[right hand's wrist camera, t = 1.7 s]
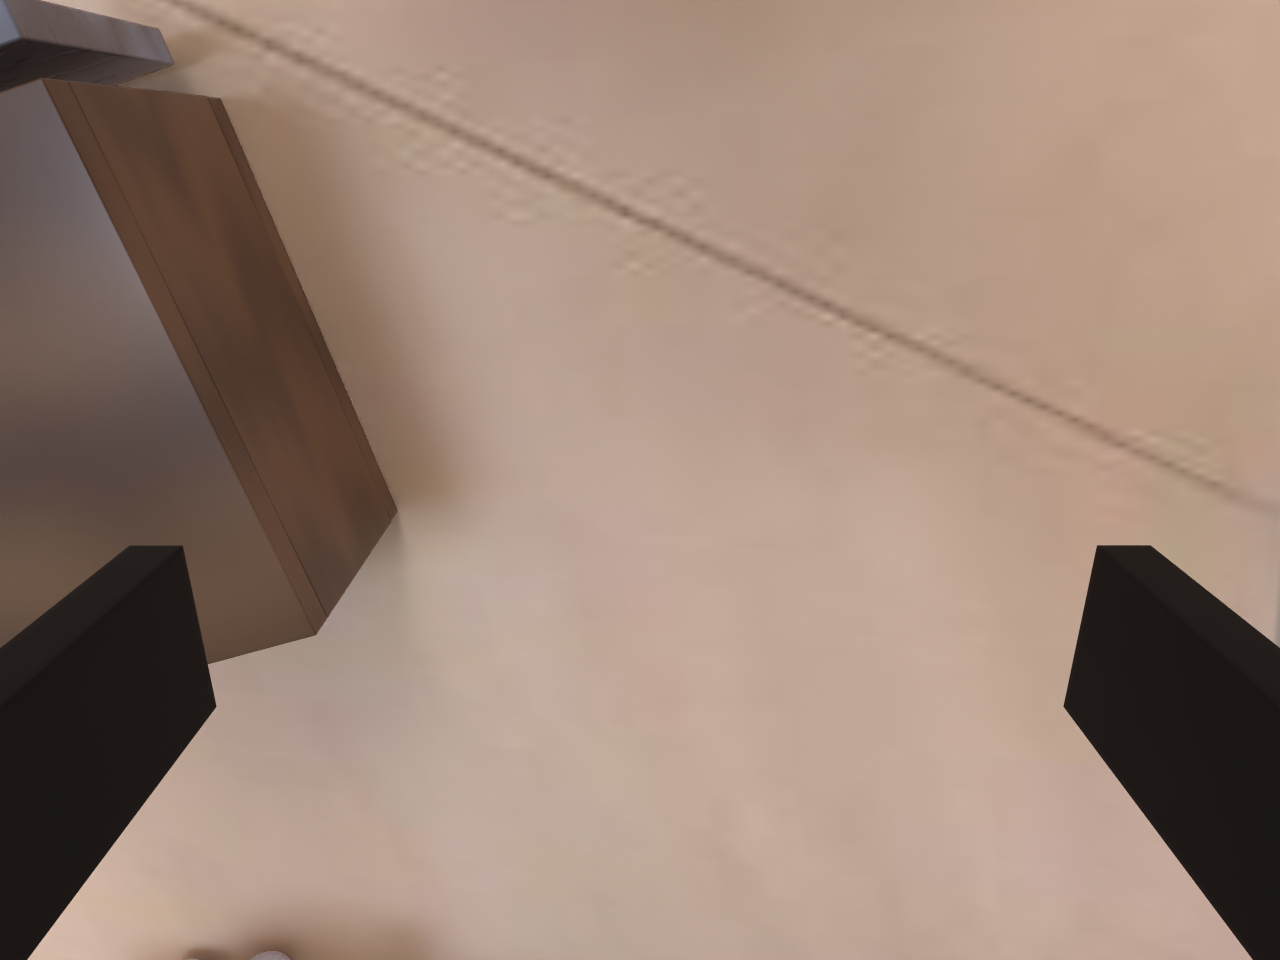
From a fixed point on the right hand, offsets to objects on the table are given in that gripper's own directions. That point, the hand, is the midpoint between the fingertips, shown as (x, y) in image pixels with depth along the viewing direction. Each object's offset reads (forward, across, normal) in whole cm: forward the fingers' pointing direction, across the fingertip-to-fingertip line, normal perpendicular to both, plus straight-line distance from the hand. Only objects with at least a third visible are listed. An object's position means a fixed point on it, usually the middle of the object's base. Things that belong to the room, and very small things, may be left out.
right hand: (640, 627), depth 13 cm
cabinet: (+23, +18, +2) cm, 30 cm away
